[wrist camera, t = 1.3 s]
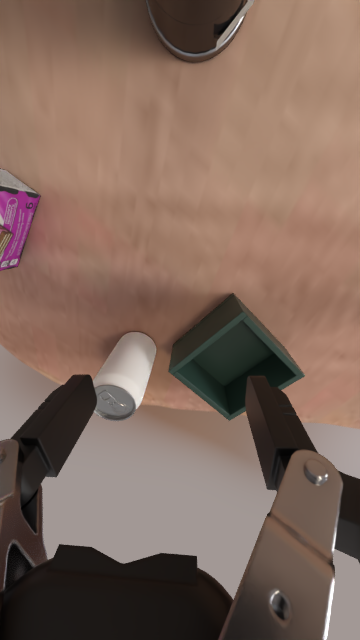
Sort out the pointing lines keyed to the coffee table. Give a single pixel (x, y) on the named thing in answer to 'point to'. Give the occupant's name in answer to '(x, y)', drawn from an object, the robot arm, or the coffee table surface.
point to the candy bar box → (14, 218)
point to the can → (124, 377)
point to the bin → (230, 357)
